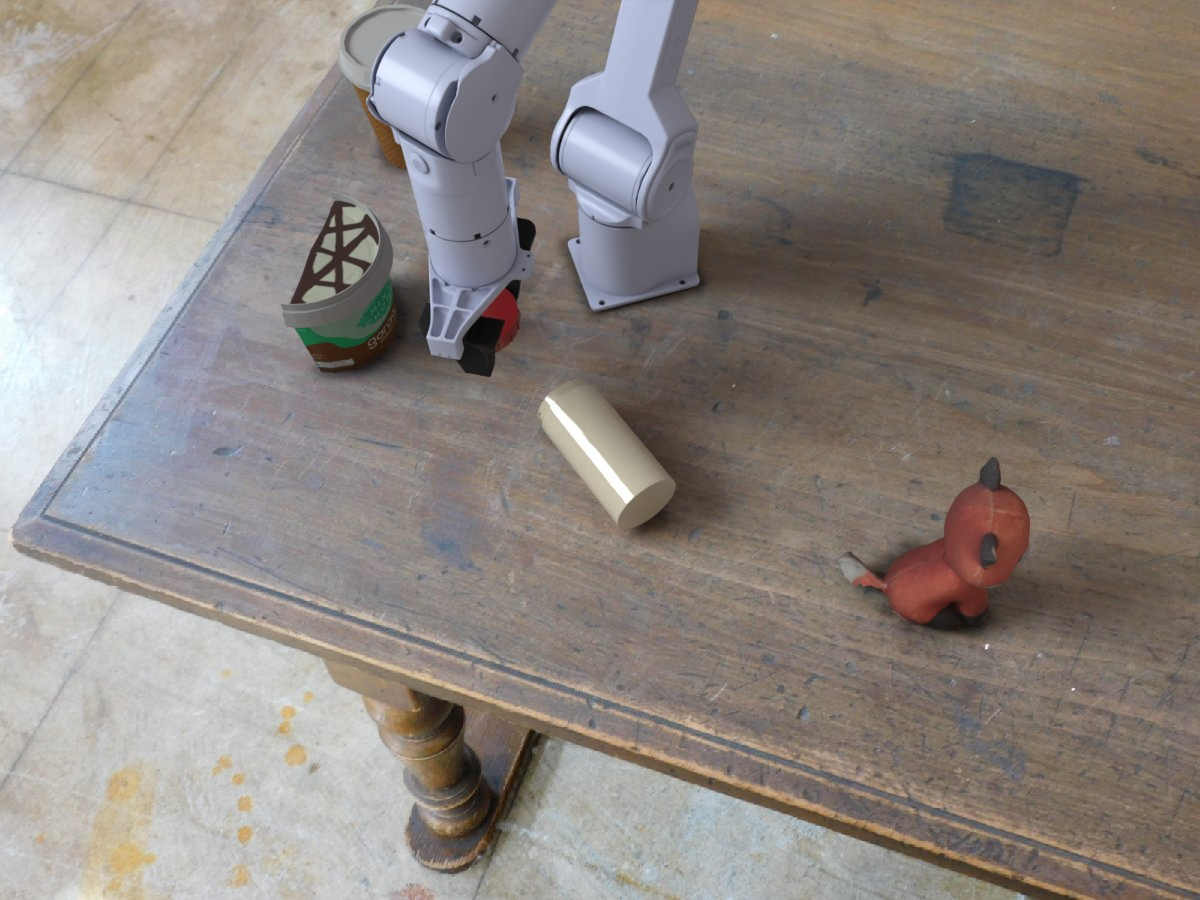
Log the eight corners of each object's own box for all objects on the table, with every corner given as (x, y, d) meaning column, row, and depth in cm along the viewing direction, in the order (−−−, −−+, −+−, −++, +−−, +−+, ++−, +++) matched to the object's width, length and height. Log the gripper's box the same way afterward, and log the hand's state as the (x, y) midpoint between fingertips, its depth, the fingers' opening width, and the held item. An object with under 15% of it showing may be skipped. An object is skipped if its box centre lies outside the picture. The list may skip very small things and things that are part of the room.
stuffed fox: (831, 532, 78) (859, 449, 68) (988, 538, 78) (1041, 455, 67) (836, 630, 75) (867, 557, 64) (1002, 637, 74) (1059, 565, 64)
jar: (670, 509, 80) (587, 408, 85) (681, 469, 76) (594, 365, 81) (613, 539, 78) (532, 434, 83) (622, 500, 74) (536, 392, 79)
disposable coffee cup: (488, 132, 101) (470, 23, 90) (427, 197, 97) (400, 91, 86) (408, 96, 103) (381, -13, 93) (345, 158, 100) (310, 51, 89)
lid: (422, 325, 79) (419, 314, 78) (484, 278, 81) (481, 267, 80) (475, 372, 76) (472, 362, 75) (537, 322, 78) (535, 311, 77)
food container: (387, 398, 86) (358, 321, 77) (314, 386, 87) (278, 310, 78) (430, 278, 92) (407, 195, 83) (361, 269, 93) (332, 186, 84)
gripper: (492, 307, 64) (516, 427, 75) (554, 136, 71) (567, 270, 82) (380, 288, 65) (421, 410, 76) (452, 121, 72) (479, 256, 84)
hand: (491, 336), depth 80 cm, fingers closed on lid, 6 cm apart
